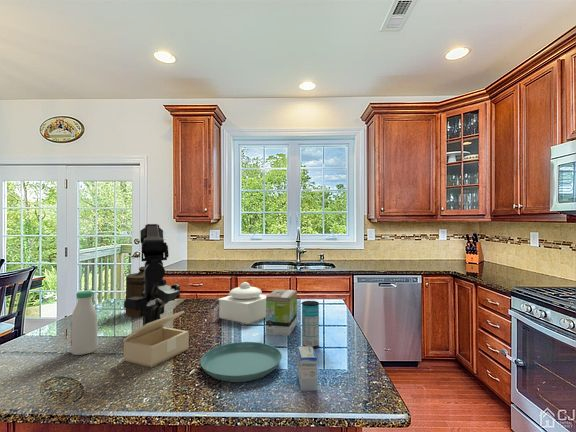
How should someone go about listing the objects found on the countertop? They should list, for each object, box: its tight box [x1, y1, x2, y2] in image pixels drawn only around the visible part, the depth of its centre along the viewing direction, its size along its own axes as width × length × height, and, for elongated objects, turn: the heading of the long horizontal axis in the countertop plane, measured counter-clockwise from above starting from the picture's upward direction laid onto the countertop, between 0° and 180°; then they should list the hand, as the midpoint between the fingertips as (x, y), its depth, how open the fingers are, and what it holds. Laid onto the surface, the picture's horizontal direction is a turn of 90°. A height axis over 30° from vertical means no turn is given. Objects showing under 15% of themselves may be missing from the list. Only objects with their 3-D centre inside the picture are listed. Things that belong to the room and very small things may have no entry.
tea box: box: [264, 288, 298, 336], centre depth 136 cm, size 15×10×15 cm, turn 168°
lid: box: [123, 310, 185, 342], centre depth 111 cm, size 12×16×1 cm
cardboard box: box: [123, 326, 190, 368], centre depth 110 cm, size 12×16×6 cm
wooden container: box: [124, 266, 145, 317], centre depth 161 cm, size 15×15×22 cm
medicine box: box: [296, 346, 318, 392], centre depth 90 cm, size 8×4×9 cm, turn 5°
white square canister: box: [217, 281, 268, 325], centre depth 154 cm, size 18×18×16 cm
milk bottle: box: [70, 290, 98, 356], centre depth 114 cm, size 8×8×20 cm
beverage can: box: [301, 300, 320, 349], centre depth 118 cm, size 6×6×15 cm
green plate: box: [200, 341, 283, 383], centre depth 101 cm, size 24×24×3 cm
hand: (153, 324), depth 111 cm, fingers closed, pressing on lid
